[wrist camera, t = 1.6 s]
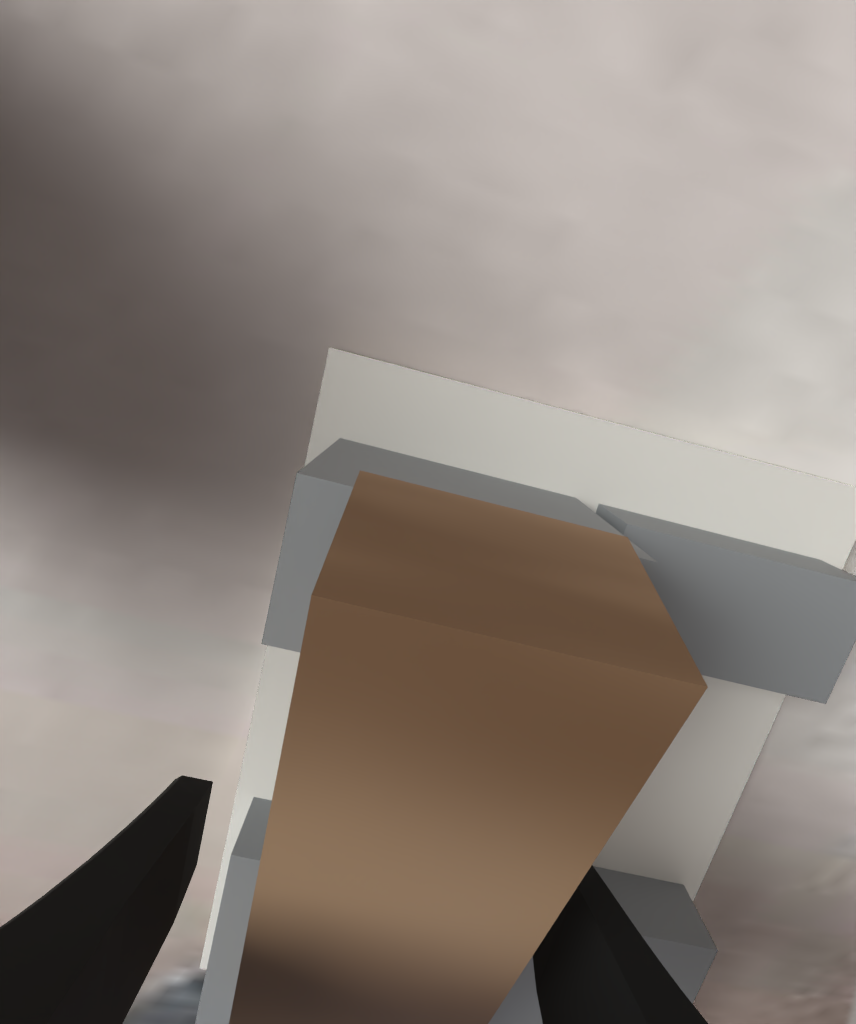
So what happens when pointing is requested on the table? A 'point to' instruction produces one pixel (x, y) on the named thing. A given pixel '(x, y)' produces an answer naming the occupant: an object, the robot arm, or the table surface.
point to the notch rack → (671, 568)
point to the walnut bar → (451, 755)
